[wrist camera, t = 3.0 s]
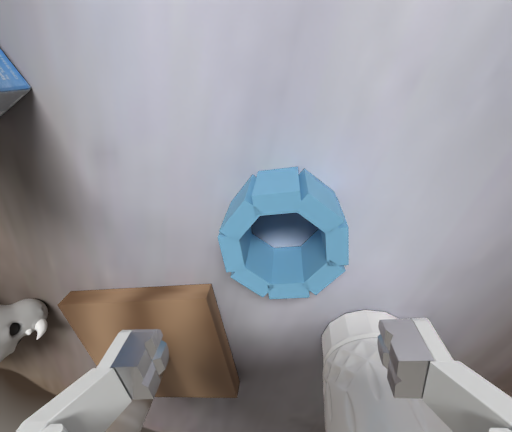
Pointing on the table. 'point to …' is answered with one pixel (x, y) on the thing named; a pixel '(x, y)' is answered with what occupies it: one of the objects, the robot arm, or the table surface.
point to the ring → (287, 258)
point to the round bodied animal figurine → (20, 323)
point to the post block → (174, 334)
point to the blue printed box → (10, 84)
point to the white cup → (365, 382)
